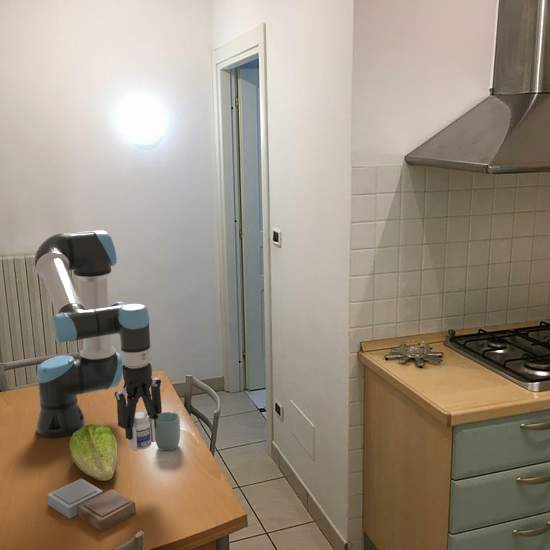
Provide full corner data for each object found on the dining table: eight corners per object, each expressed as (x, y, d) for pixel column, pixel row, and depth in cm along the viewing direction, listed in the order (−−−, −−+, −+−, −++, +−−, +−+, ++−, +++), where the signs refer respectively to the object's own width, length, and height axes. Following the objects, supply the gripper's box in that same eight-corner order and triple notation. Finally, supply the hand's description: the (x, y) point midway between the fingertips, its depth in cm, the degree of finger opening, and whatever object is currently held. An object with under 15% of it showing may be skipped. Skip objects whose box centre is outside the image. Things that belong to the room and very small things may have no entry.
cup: (175, 454, 189) (174, 423, 187) (151, 452, 190) (149, 421, 188) (184, 442, 196) (182, 412, 194) (161, 440, 198) (159, 411, 196)
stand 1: (48, 504, 164) (47, 493, 163) (82, 488, 171) (81, 477, 170) (69, 518, 157) (68, 506, 157) (103, 501, 165) (102, 489, 164)
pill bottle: (133, 441, 173) (131, 411, 171) (152, 440, 173) (150, 410, 171) (130, 450, 168) (128, 419, 166) (150, 449, 168) (148, 419, 166)
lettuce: (74, 479, 166) (111, 445, 169) (58, 437, 187) (91, 407, 190) (103, 504, 172) (139, 470, 174) (85, 461, 193) (117, 431, 195)
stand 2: (78, 516, 158) (77, 504, 157) (112, 499, 165) (111, 488, 165) (101, 531, 152) (100, 519, 151) (135, 513, 159) (134, 501, 158)
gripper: (116, 377, 156) (122, 462, 161) (173, 357, 169) (177, 436, 174) (98, 370, 161) (105, 453, 166) (155, 351, 174) (160, 428, 179)
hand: (142, 444), depth 170 cm, fingers closed on pill bottle, 5 cm apart
